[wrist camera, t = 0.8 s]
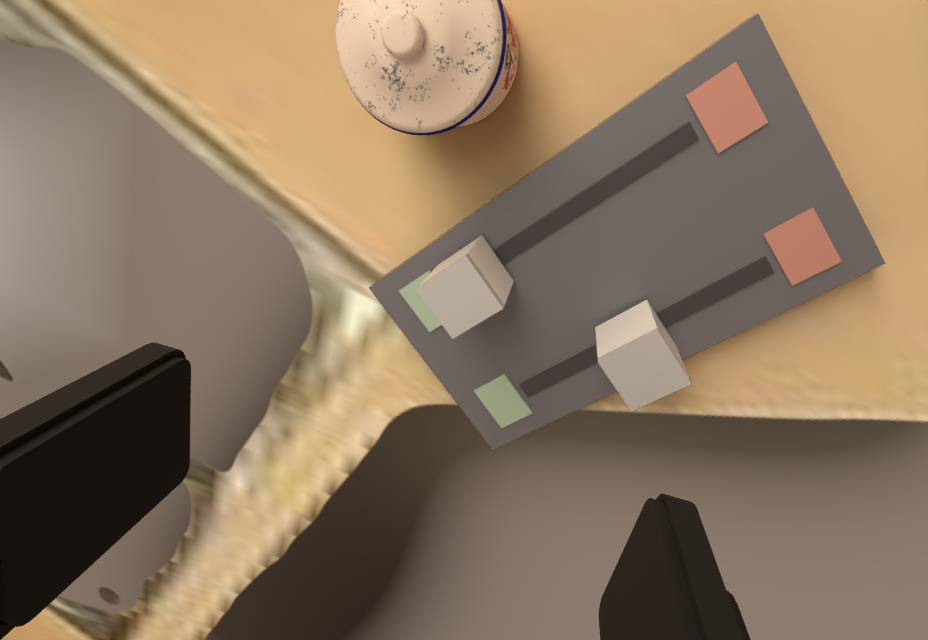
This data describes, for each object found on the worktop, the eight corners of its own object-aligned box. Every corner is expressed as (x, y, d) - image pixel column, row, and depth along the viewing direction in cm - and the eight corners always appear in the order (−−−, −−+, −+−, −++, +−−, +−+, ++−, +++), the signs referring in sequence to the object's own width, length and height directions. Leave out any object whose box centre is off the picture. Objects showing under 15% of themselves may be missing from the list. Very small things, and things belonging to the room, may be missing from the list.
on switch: (481, 235, 35) (465, 255, 30) (513, 281, 36) (503, 308, 31) (437, 264, 37) (415, 289, 32) (469, 308, 38) (452, 339, 33)
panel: (747, 19, 30) (759, 12, 28) (868, 255, 33) (887, 264, 31) (378, 280, 41) (367, 288, 39) (496, 436, 44) (492, 451, 42)
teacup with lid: (544, 92, 34) (528, 83, 23) (426, 152, 37) (364, 168, 26) (468, -105, 30) (410, -220, 20) (346, -22, 33) (240, -83, 23)
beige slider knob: (647, 299, 35) (658, 331, 30) (675, 345, 35) (691, 383, 30) (595, 327, 36) (597, 362, 31) (623, 370, 37) (631, 411, 32)
